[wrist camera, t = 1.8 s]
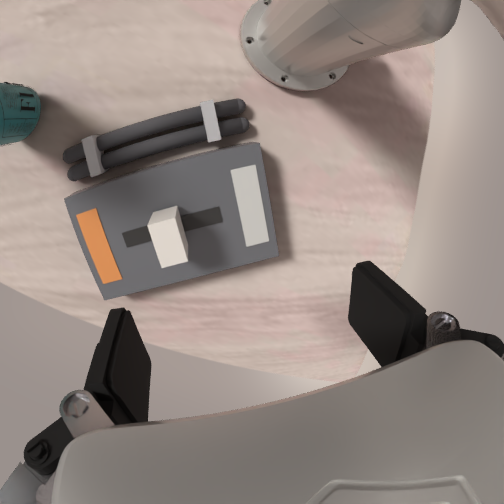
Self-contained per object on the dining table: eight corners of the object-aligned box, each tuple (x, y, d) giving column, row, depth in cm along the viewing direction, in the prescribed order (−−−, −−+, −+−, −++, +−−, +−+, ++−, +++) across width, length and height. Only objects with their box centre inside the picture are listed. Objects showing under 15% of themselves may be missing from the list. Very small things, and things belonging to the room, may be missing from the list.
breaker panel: (253, 141, 28) (259, 142, 26) (271, 245, 33) (279, 256, 31) (74, 192, 26) (63, 199, 23) (110, 286, 31) (104, 300, 29)
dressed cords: (242, 96, 26) (246, 93, 24) (249, 132, 28) (254, 133, 26) (64, 149, 24) (55, 150, 22) (73, 183, 26) (65, 187, 24)
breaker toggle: (177, 205, 26) (175, 217, 22) (188, 243, 28) (188, 261, 24) (153, 212, 26) (147, 225, 22) (164, 250, 28) (161, 268, 24)
